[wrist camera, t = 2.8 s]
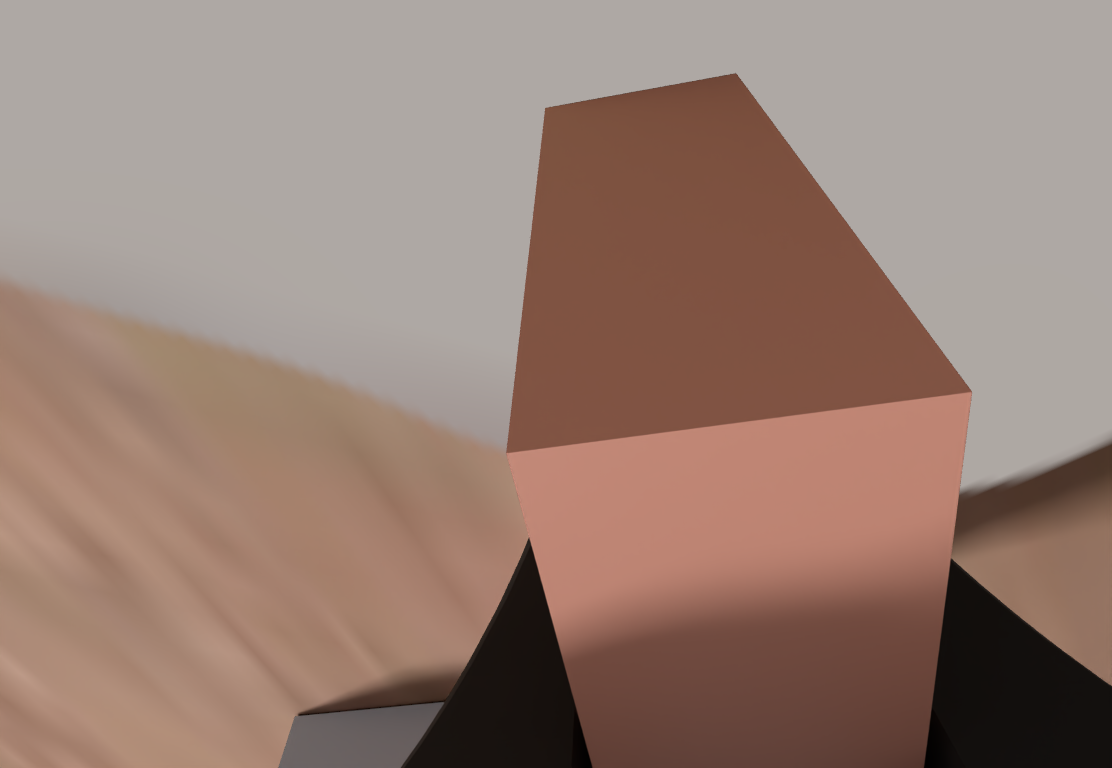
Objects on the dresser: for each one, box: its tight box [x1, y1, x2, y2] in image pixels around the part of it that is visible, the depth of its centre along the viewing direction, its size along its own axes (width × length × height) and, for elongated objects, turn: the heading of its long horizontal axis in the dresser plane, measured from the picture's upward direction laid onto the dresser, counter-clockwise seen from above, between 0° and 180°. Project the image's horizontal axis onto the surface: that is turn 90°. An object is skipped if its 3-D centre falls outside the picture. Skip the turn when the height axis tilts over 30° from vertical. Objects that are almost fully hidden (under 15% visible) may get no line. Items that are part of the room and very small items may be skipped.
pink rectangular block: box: [506, 74, 972, 768], centre depth 10 cm, size 2×10×7 cm, turn 10°
